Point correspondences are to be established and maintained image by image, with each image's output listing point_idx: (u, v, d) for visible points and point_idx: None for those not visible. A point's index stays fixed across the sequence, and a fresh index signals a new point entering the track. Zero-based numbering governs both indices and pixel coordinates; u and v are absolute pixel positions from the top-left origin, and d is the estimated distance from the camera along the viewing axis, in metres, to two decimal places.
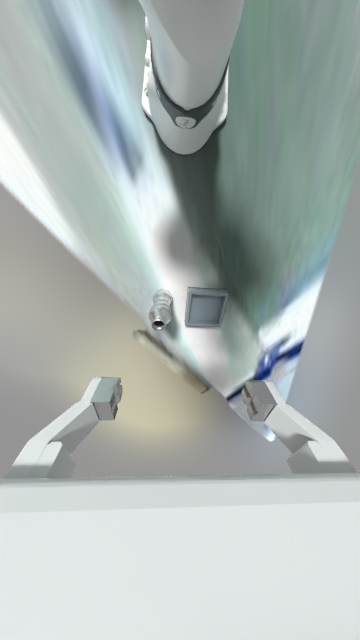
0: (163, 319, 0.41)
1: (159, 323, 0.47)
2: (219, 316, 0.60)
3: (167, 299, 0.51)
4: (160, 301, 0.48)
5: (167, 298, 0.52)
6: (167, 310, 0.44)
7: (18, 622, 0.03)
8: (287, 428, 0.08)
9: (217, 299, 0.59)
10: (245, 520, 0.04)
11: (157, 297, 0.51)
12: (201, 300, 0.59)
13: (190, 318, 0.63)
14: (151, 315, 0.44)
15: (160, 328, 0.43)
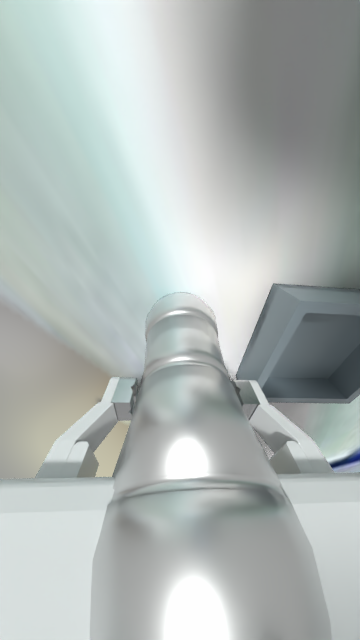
0: None
1: None
2: (353, 375, 0.19)
3: (214, 346, 0.10)
4: (189, 385, 0.07)
5: (212, 339, 0.11)
6: (315, 605, 0.03)
7: (18, 622, 0.03)
8: (269, 428, 0.08)
9: None
10: None
11: (164, 335, 0.10)
12: (307, 329, 0.18)
13: None
14: None
15: None
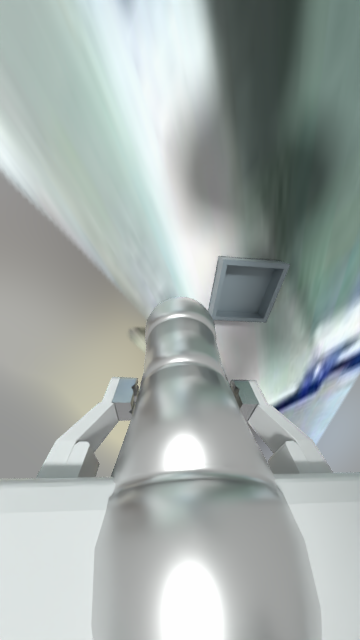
0: None
1: None
2: (265, 305, 0.38)
3: (212, 348, 0.10)
4: (186, 385, 0.07)
5: (210, 341, 0.11)
6: (305, 590, 0.03)
7: (18, 622, 0.03)
8: (268, 428, 0.08)
9: (264, 277, 0.36)
10: None
11: (163, 338, 0.10)
12: (238, 279, 0.36)
13: (217, 309, 0.40)
14: None
15: None
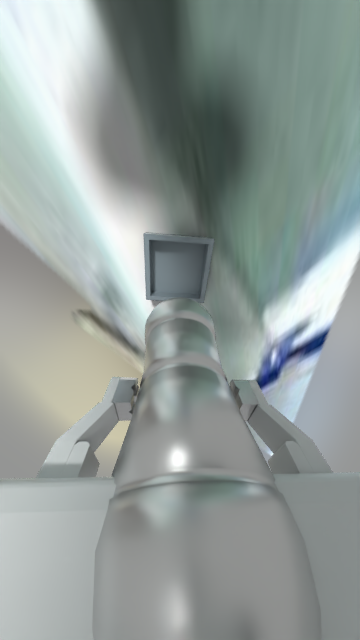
0: None
1: None
2: (201, 285, 0.37)
3: (212, 349, 0.10)
4: (186, 386, 0.07)
5: (210, 342, 0.11)
6: (305, 592, 0.03)
7: (18, 622, 0.03)
8: (268, 428, 0.08)
9: (197, 255, 0.36)
10: None
11: (163, 338, 0.10)
12: (170, 257, 0.36)
13: (156, 290, 0.40)
14: None
15: None
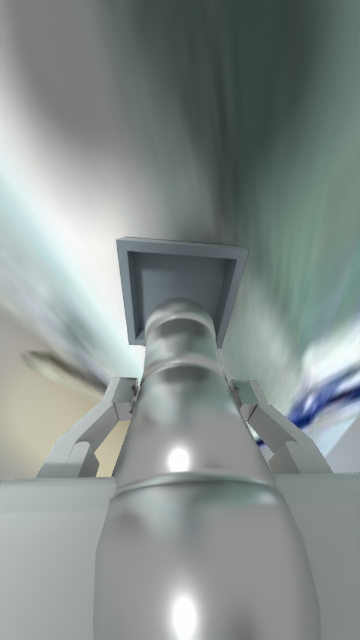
0: None
1: None
2: (218, 321, 0.23)
3: (212, 349, 0.10)
4: (186, 386, 0.07)
5: (210, 342, 0.11)
6: (305, 591, 0.03)
7: (18, 622, 0.03)
8: (268, 428, 0.08)
9: (212, 275, 0.21)
10: None
11: (163, 339, 0.10)
12: (168, 278, 0.21)
13: None
14: None
15: None
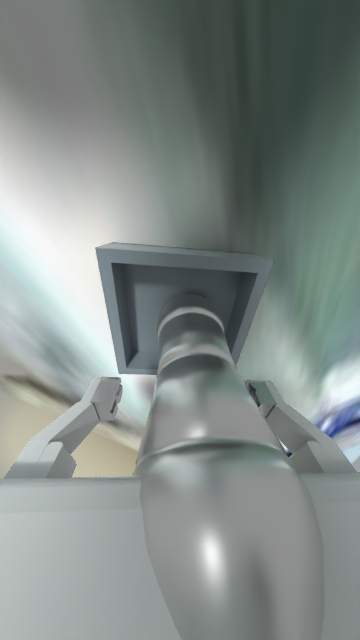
0: None
1: None
2: (228, 345, 0.19)
3: (222, 341, 0.11)
4: (203, 371, 0.08)
5: (220, 335, 0.12)
6: (312, 527, 0.04)
7: (18, 622, 0.03)
8: (287, 428, 0.08)
9: (222, 289, 0.17)
10: None
11: (176, 331, 0.11)
12: (167, 294, 0.17)
13: (140, 348, 0.21)
14: None
15: None
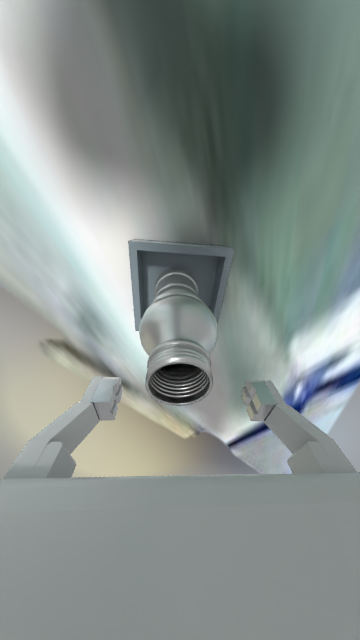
0: (201, 354, 0.09)
1: None
2: (212, 311, 0.27)
3: (192, 286, 0.19)
4: (176, 287, 0.15)
5: (192, 284, 0.19)
6: (207, 314, 0.12)
7: (18, 622, 0.03)
8: (287, 428, 0.08)
9: (206, 271, 0.25)
10: (245, 520, 0.04)
11: (165, 281, 0.19)
12: None
13: None
14: (147, 333, 0.11)
15: (184, 389, 0.10)
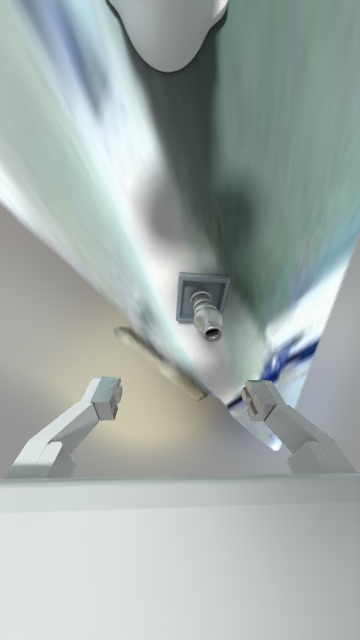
0: (219, 326, 0.31)
1: None
2: (218, 309, 0.49)
3: (210, 299, 0.41)
4: (206, 302, 0.37)
5: (210, 298, 0.41)
6: (219, 314, 0.34)
7: (18, 622, 0.03)
8: (287, 428, 0.08)
9: (216, 288, 0.47)
10: (245, 520, 0.04)
11: (198, 297, 0.41)
12: None
13: (183, 312, 0.51)
14: (199, 320, 0.33)
15: (212, 338, 0.33)
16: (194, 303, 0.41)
